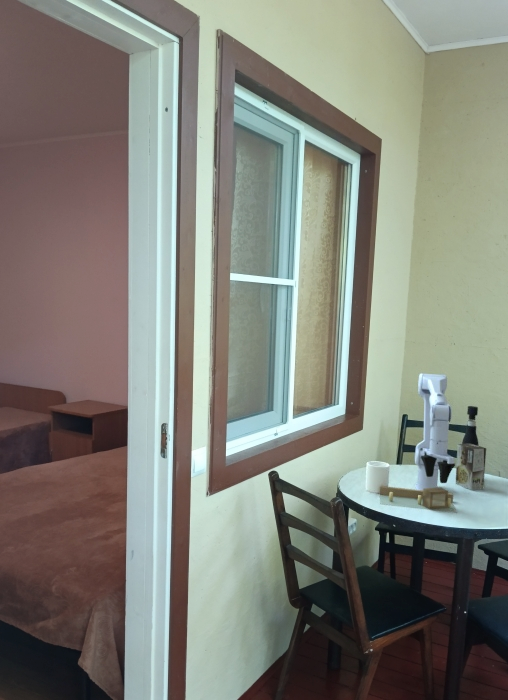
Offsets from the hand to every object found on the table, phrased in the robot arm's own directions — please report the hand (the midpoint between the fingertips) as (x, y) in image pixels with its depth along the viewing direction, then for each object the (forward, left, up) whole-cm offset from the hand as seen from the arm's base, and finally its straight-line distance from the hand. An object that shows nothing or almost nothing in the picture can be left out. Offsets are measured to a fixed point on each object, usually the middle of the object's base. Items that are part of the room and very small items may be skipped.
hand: (436, 479), depth 191 cm
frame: (0, 0, -9) cm, 9 cm away
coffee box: (-33, +16, -10) cm, 38 cm away
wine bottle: (-43, +17, -10) cm, 47 cm away
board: (-3, -6, -10) cm, 12 cm away
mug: (-15, -19, -10) cm, 26 cm away
